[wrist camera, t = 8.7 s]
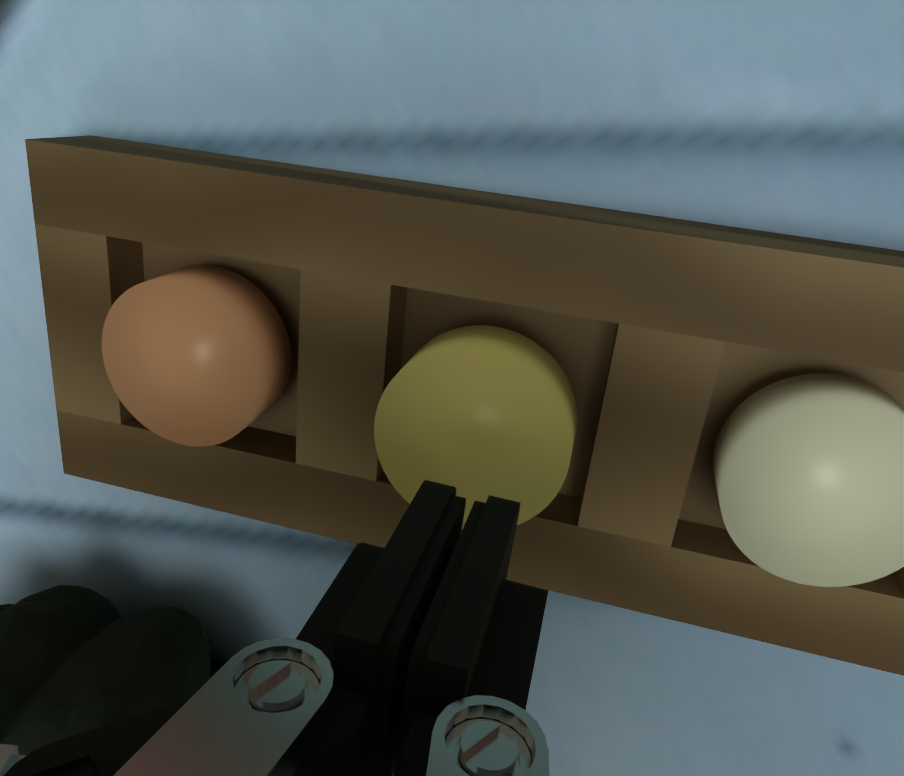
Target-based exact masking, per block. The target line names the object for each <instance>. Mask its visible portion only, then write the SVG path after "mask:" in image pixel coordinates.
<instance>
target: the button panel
mask: <svg viewBox="0 0 904 776" xmlns="http://www.w3.org/2000/svg"><path fill="white" fill-rule="evenodd" d="M25 142H26V151H27V159H28V168H29V176H30V185H31V194H32V202H33V211H34V219H35V228H36V237H37V245H38V254H39V262H40V271H41V280H42V288H43V297H44V305H45V314H46V323H47V331H48V340H49V348H50V357H51V366H52V374H53V383H54V391H55V400H56V409H57V417H58V426H59V434H60V443H61V452H62V460H63V469H64V473H65V474H69V475H73V476H77V477H81V478H86V479H90V480H94V481H98V482H102V483H106V484H110V485H115V486H119V487H123V488H127V489H131V490H135V491H140V492H144V493H148V494H152V495H156V496H160V497H164V498H169V499H173V500H177V501H181V502H185V503H189V504H194V505H198V506H202V507H206V508H210V509H214V510H218V511H223V512H227V513H231V514H235V515H239V516H243V517H247V518H252V519H256V520H260V521H264V522H268V523H272V524H277V525H281V526H285V527H289V528H293V529H297V530H301V531H306V532H310V533H314V534H318V535H322V536H326V537H331V538H335V539H339V540H343V541H347V542H351V543H355V544H359V543H361V542H363V543H367V544H371V545H375V546H379V547H383V548H385V546H386V544H387V543H388V541H389V539H390V538H391V536H392V534H393V532H394V531H395V529H396V527H397V526H398V524H399V522H400V520H401V519H402V517H403V515H404V514H405V512H406V510H407V508H408V507H409V505H410V504H409V503H408V502H407V501H406V500H405V499H404V498H403V497H402V496H401V495H400V494H399V493H398V492H397V491H396V489H395V488H394V486H393V485H392V484H391V482H390V481H389V479H388V478H387V476H386V474H385V472H384V470H383V468H382V466H381V463H380V461H379V458H378V454H377V451H376V446H375V439H374V422H375V415H376V410H377V407H378V404H379V401H380V399H381V396H382V394H383V392H384V390H385V389H386V387H387V386H388V384H389V383H390V381H391V380H392V379H393V378H394V377H395V376H396V374H397V373H398V372H399V371H400V370H401V369H402V368H403V367H404V366H405V365H406V363H407V362H408V361H409V360H410V359H411V358H412V357H413V356H414V355H415V354H416V353H417V351H418V350H419V349H420V348H421V347H423V346H424V345H425V344H426V343H427V342H429V341H430V340H432V339H433V338H435V337H436V336H438V335H440V334H442V333H445V332H447V331H449V330H453V329H456V328H460V327H466V326H477V325H486V326H494V327H500V328H504V329H508V330H511V331H514V332H516V333H519V334H521V335H523V336H525V337H527V338H529V339H531V340H532V341H534V342H535V343H537V344H538V345H540V346H541V347H542V348H544V349H545V350H546V351H547V352H548V353H549V354H550V355H551V356H552V357H553V358H554V359H555V360H556V362H557V363H558V364H559V365H560V367H561V368H562V370H563V371H564V373H565V374H566V376H567V378H568V380H569V382H570V384H571V386H572V390H573V393H574V396H575V400H576V406H577V428H576V435H575V440H574V445H573V450H572V455H571V460H570V465H569V468H568V472H567V476H566V478H565V481H564V483H563V485H562V487H561V489H560V490H559V492H558V494H557V495H556V497H555V498H554V499H553V500H552V501H551V503H550V504H549V505H548V506H547V507H546V508H545V509H544V510H542V511H541V512H540V513H539V514H537V515H536V516H534V517H533V518H531V519H530V520H528V521H526V522H523V523H521V524H519V525H517V527H516V532H515V537H514V542H513V547H512V552H511V558H510V563H509V568H508V573H507V578H506V580H510V581H514V582H518V583H522V584H526V585H530V586H534V587H538V588H542V589H547V590H551V591H555V592H559V593H563V594H567V595H571V596H576V597H580V598H584V599H588V600H592V601H596V602H601V603H605V604H609V605H613V606H617V607H621V608H625V609H630V610H634V611H638V612H642V613H646V614H650V615H655V616H659V617H663V618H667V619H671V620H675V621H679V622H684V623H688V624H692V625H696V626H700V627H704V628H708V629H713V630H717V631H721V632H725V633H729V634H733V635H738V636H742V637H746V638H750V639H754V640H758V641H762V642H767V643H771V644H775V645H779V646H783V647H787V648H792V649H796V650H800V651H804V652H808V653H812V654H816V655H821V656H825V657H829V658H833V659H837V660H841V661H846V662H850V663H854V664H858V665H862V666H866V667H870V668H875V669H879V670H883V671H887V672H891V673H895V674H900V675H904V567H902V568H901V569H899V570H897V571H895V572H893V573H891V574H889V575H887V576H885V577H882V578H879V579H876V580H874V581H870V582H866V583H862V584H858V585H851V586H843V587H820V586H811V585H805V584H799V583H796V582H792V581H789V580H786V579H783V578H781V577H778V576H776V575H773V574H772V573H770V572H768V571H766V570H764V569H762V568H761V567H759V566H758V565H757V564H755V563H754V562H752V561H751V560H750V559H749V558H748V557H747V556H746V555H745V554H743V552H742V551H741V550H740V549H739V548H738V547H737V545H736V544H735V543H734V541H733V540H732V538H731V536H730V535H729V533H728V531H727V529H726V526H725V524H724V521H723V517H722V514H721V509H720V504H719V499H718V494H717V489H716V484H715V478H714V471H713V453H714V448H715V443H716V440H717V438H718V435H719V432H720V430H721V429H722V427H723V425H724V423H725V421H726V420H727V419H728V417H729V416H730V415H731V413H732V412H733V411H734V410H735V409H736V408H737V407H738V406H739V405H740V404H741V403H742V402H743V401H744V400H746V399H747V398H748V397H749V396H751V395H752V394H754V393H755V392H757V391H759V390H760V389H762V388H764V387H766V386H768V385H770V384H772V383H774V382H777V381H780V380H783V379H786V378H790V377H794V376H799V375H806V374H837V375H844V376H849V377H853V378H857V379H860V380H862V381H865V382H868V383H870V384H872V385H874V386H876V387H878V388H880V389H882V390H883V391H884V392H886V393H887V394H889V395H890V396H891V397H893V398H894V399H895V400H896V401H897V402H898V403H899V404H900V405H901V406H902V407H903V408H904V251H897V250H890V249H883V248H876V247H869V246H862V245H855V244H848V243H841V242H834V241H827V240H820V239H813V238H806V237H799V236H792V235H785V234H778V233H771V232H764V231H757V230H750V229H743V228H736V227H729V226H722V225H715V224H708V223H701V222H694V221H687V220H680V219H673V218H666V217H659V216H652V215H645V214H638V213H631V212H624V211H617V210H610V209H603V208H596V207H589V206H582V205H574V204H567V203H560V202H553V201H546V200H539V199H532V198H525V197H518V196H511V195H504V194H497V193H490V192H483V191H476V190H469V189H462V188H455V187H448V186H441V185H434V184H427V183H420V182H413V181H406V180H399V179H392V178H385V177H378V176H371V175H364V174H357V173H350V172H343V171H336V170H329V169H322V168H315V167H308V166H301V165H294V164H287V163H280V162H273V161H266V160H259V159H252V158H245V157H238V156H231V155H224V154H217V153H209V152H202V151H195V150H188V149H181V148H174V147H167V146H160V145H153V144H146V143H139V142H132V141H125V140H118V139H111V138H104V137H97V136H76V137H57V138H39V139H25ZM195 265H209V266H216V267H221V268H225V269H227V270H230V271H232V272H235V273H237V274H239V275H240V276H242V277H244V278H246V279H247V280H249V281H250V282H251V283H253V284H254V285H255V286H256V287H257V288H259V289H260V290H261V291H262V292H263V293H264V294H265V295H266V297H267V298H268V299H269V300H270V301H271V303H272V304H273V305H274V307H275V308H276V310H277V311H278V313H279V315H280V317H281V318H282V321H283V323H284V325H285V328H286V330H287V334H288V337H289V341H290V347H291V371H290V375H289V380H288V382H287V385H286V387H285V389H284V391H283V393H282V395H281V396H280V398H279V399H278V400H277V401H276V403H275V404H274V405H272V406H271V407H270V408H269V409H268V410H267V411H265V412H264V413H263V414H262V415H261V416H259V417H258V418H257V419H256V420H254V421H253V422H252V423H251V424H249V425H248V426H247V427H246V428H245V429H243V430H242V431H241V432H240V433H238V434H237V435H236V436H234V437H233V438H231V439H229V440H227V441H225V442H223V443H220V444H216V445H212V446H204V447H196V446H187V445H182V444H178V443H175V442H172V441H169V440H167V439H165V438H162V437H161V436H159V435H157V434H155V433H153V432H152V431H151V430H149V429H148V428H146V427H145V426H144V425H142V424H141V423H140V422H139V421H138V420H137V419H136V418H135V417H134V416H133V415H132V414H131V413H130V412H129V411H128V410H127V409H126V407H125V406H124V405H123V403H122V402H121V401H120V399H119V397H118V396H117V394H116V393H115V391H114V389H113V387H112V385H111V383H110V381H109V378H108V375H107V373H106V369H105V365H104V362H103V355H102V332H103V327H104V323H105V319H106V317H107V315H108V312H109V310H110V309H111V307H112V305H113V304H114V302H115V301H116V300H117V299H118V298H119V296H120V295H122V294H123V293H124V292H125V291H127V290H128V289H130V288H131V287H133V286H135V285H137V284H140V283H143V282H145V281H148V280H151V279H154V278H157V277H160V276H162V275H165V274H168V273H171V272H174V271H176V270H179V269H182V268H185V267H190V266H195ZM462 530H463V529H462Z"/></svg>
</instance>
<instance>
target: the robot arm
mask: <svg viewBox="0 0 904 776" xmlns="http://www.w3.org/2000/svg"><path fill="white" fill-rule="evenodd" d="M465 506H466V498H463V497H459V496H456V487H453V486H449V485H445V484H441V483H437V482H432V481H428V480H424V481H423V483H422V484H421V486H420V488H419V489H418V491H417V493H416V495H415V496H414V498H413V500H412V501H411V503H410V505H409V507H408V508H407V510H406V512H405V514H404V515H403V517H402V519H401V520H400V522H399V524H398V526H397V527H396V529H395V531H394V532H393V534H392V536H391V538H390V539H389V541H388V543H387V544H386V546H385V548H383V547H379V546H375V545H371V544H367V543H363V542H361V543H359V544H358V545H357V546H356V547H355V549H354V550H353V552H352V553H351V555H350V556H349V558H348V559H347V561H346V562H345V564H344V565H343V567H342V569H341V570H340V572H339V573H338V575H337V576H336V578H335V579H334V581H333V582H332V584H331V586H330V587H329V589H328V590H327V592H326V593H325V595H324V596H323V598H322V599H321V601H320V602H319V604H318V606H317V607H316V609H315V610H314V612H313V613H312V615H311V616H310V618H309V619H308V621H307V622H306V624H305V626H304V627H303V629H302V630H301V632H300V633H299V635H298V636H297V638H296V639H291V638H273V639H268V640H262V641H259V642H256V643H254V644H252V645H249V646H247V647H245V648H243V649H242V650H241V651H239V652H238V653H237V654H235V655H234V656H233V657H231V658H230V659H229V660H228V661H227V662H226V663H225V664H224V665H223V666H222V667H221V668H220V669H219V670H218V671H217V672H216V673H215V674H214V675H213V676H212V677H211V678H210V679H209V680H208V681H207V682H206V683H205V684H204V685H203V686H202V687H201V688H200V689H199V690H198V691H197V692H196V693H195V694H194V695H193V696H192V697H191V698H190V699H188V700H185V701H182V702H179V703H176V704H172V705H169V706H166V707H163V708H160V709H156V710H153V711H150V712H147V713H144V714H141V715H137V716H134V717H131V718H128V719H125V720H122V721H118V722H115V723H112V724H109V725H106V726H103V727H99V728H96V729H93V730H90V731H87V732H83V733H80V734H77V735H74V736H71V737H68V738H64V739H61V740H58V741H55V742H52V743H50V744H48V745H45V746H43V747H41V748H38V749H36V750H34V751H32V752H31V753H29V754H28V755H27V756H25V755H19V753H18V746H17V745H8V744H0V776H549V756H548V747H547V743H546V738H545V735H544V733H543V732H542V730H541V728H540V726H539V725H538V723H537V721H536V720H535V719H534V718H532V717H531V716H530V715H529V714H528V713H527V712H526V711H525V709H526V704H527V698H528V693H529V688H530V683H531V678H532V672H533V667H534V662H535V657H536V652H537V647H538V641H539V636H540V631H541V626H542V621H543V615H544V610H545V605H546V600H547V595H548V590H545V589H541V588H537V587H533V586H529V585H526V584H522V583H518V582H514V581H510V580H506V578H507V573H508V568H509V563H510V558H511V552H512V547H513V542H514V537H515V532H516V527H517V521H518V516H519V511H520V502H516V501H512V500H508V499H503V498H499V497H495V496H491V495H489V497H488V499H487V501H486V503H484V502H480V501H475V502H474V504H473V506H472V508H471V511H470V513H469V515H468V518H467V520H466V523H465V525H464V527H463V530H462V525H463V519H464V513H465ZM393 774H394V775H393Z"/></svg>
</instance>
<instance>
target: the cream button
mask: <svg viewBox="0 0 904 776" xmlns="http://www.w3.org/2000/svg"><path fill="white" fill-rule="evenodd" d="M713 471H714V478H715V484H716V489H717V494H718V499H719V504H720V509H721V514H722V517H723V521H724V524H725V526H726V529H727V531H728V533H729V535H730V536H731V538H732V540H733V541H734V543H735V544H736V545H737V547H738V548H739V549H740V550H741V551H742V552H743V554H745V555H746V556H747V557H748V558H749V559H750V560H751V561H752V562H754V563H755V564H757V565H758V566H759V567H761V568H762V569H764V570H766V571H768V572H770V573H772V574H773V575H776V576H778V577H781V578H783V579H786V580H789V581H792V582H796V583H799V584H805V585H811V586H820V587H843V586H851V585H858V584H862V583H866V582H870V581H874V580H876V579H879V578H882V577H885V576H887V575H889V574H891V573H893V572H895V571H897V570H899V569H901V568H902V567H904V408H903V407H902V406H901V405H900V404H899V403H898V402H897V401H896V400H895V399H894V398H893V397H891V396H890V395H889V394H887V393H886V392H884V391H883V390H882V389H880V388H878V387H876V386H874V385H872V384H870V383H868V382H865V381H862V380H860V379H857V378H853V377H849V376H844V375H837V374H806V375H799V376H794V377H790V378H786V379H783V380H780V381H777V382H774V383H772V384H770V385H768V386H766V387H764V388H762V389H760V390H759V391H757V392H755V393H754V394H752V395H751V396H749V397H748V398H747V399H746V400H744V401H743V402H742V403H741V404H740V405H739V406H738V407H737V408H736V409H735V410H734V411H733V412H732V413H731V415H730V416H729V417H728V419H727V420H726V421H725V423H724V425H723V427H722V429H721V430H720V432H719V435H718V438H717V440H716V443H715V448H714V453H713Z"/></svg>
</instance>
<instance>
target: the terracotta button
mask: <svg viewBox="0 0 904 776" xmlns="http://www.w3.org/2000/svg"><path fill="white" fill-rule="evenodd" d="M102 355H103V362H104V365H105V369H106V373H107V375H108V378H109V381H110V383H111V385H112V387H113V389H114V391H115V393H116V394H117V396H118V397H119V399H120V401H121V402H122V403H123V405H124V406H125V407H126V409H127V410H128V411H129V412H130V413H131V414H132V415H133V416H134V417H135V418H136V419H137V420H138V421H139V422H140V423H141V424H142V425H144V426H145V427H146V428H148V429H149V430H151V431H152V432H153V433H155V434H157V435H159V436H161V437H162V438H165V439H167V440H169V441H172V442H175V443H178V444H182V445H187V446H196V447H204V446H212V445H216V444H220V443H223V442H225V441H227V440H229V439H231V438H233V437H234V436H236V435H237V434H238V433H240V432H241V431H242V430H243V429H245V428H246V427H247V426H248V425H249V424H251V423H252V422H253V421H254V420H256V419H257V418H258V417H259V416H261V415H262V414H263V413H264V412H265V411H267V410H268V409H269V408H270V407H271V406H272V405H274V404H275V403H276V401H277V400H278V399H279V398H280V396H281V395H282V393H283V391H284V389H285V387H286V385H287V382H288V380H289V375H290V371H291V347H290V341H289V337H288V334H287V330H286V328H285V325H284V323H283V321H282V318H281V317H280V315H279V313H278V311H277V310H276V308H275V307H274V305H273V304H272V303H271V301H270V300H269V299H268V298H267V297H266V295H265V294H264V293H263V292H262V291H261V290H260V289H259V288H257V287H256V286H255V285H254V284H253V283H251V282H250V281H249V280H247V279H246V278H244V277H242V276H240V275H239V274H237V273H235V272H232V271H230V270H227V269H225V268H221V267H216V266H209V265H195V266H190V267H185V268H182V269H179V270H176V271H174V272H171V273H168V274H165V275H162V276H160V277H157V278H154V279H151V280H148V281H145V282H143V283H140V284H137V285H135V286H133V287H131V288H130V289H128V290H127V291H125V292H124V293H123V294H122V295H120V296H119V298H118V299H117V300H116V301H115V302H114V304H113V305H112V307H111V309H110V310H109V312H108V315H107V317H106V319H105V323H104V327H103V332H102Z"/></svg>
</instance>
